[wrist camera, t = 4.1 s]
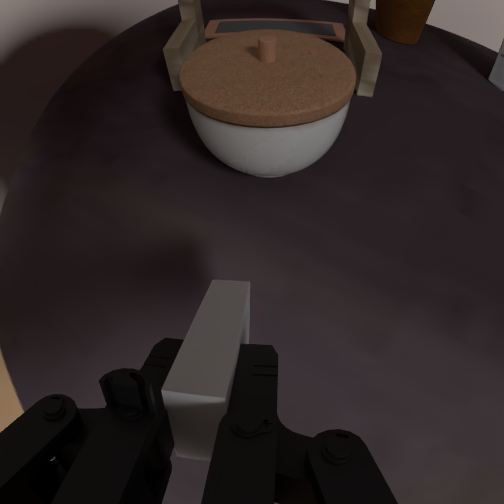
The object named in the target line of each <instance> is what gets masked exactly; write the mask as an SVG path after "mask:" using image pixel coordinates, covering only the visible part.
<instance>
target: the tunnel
mask: <svg viewBox="0 0 504 504" xmlns="http://www.w3.org/2000/svg"><path fill="white" fill-rule="evenodd" d="M178 3H179V8H180V13H181V19H182V21H181V23H180V24H179V26H178V27H177V28H176V30H175V31H174V33H173V34H172V36H171V37H170V39H169V41H168V42H167V44H166V45H165V47H164V48H163V52H164V56H165V60H166V64H167V68H168V72H169V76H170V80H171V84H172V87H173V91H181V87H180V83H179V72H180V68H181V66H182V64H183V63H184V61H185V59H186V58H187V57H188V56H189V55H190V54H191V53H192V52H193V51H195V50H196V49H197V48H199V47H200V46H202V45H204V44H205V43H206V37H205V30H204V24H203V17H202V10H201V3H200V0H178ZM369 6H370V0H349V8H348V16H347V24H346V32H345V39H344V47H343V50H344V53H345V55H346V56H347V57H348V58H349V59H350V61H351V63H352V64H353V66H354V68H355V72H356V84H355V89H356V93H357V95H360V96H368V97H372V95H373V91H374V87H375V83H376V79H377V75H378V71H379V67H380V62H381V58H382V53H381V51H380V49H379V47H378V45H377V43H376V41H375V39H374V37H373V36H372V34H371V32H370V30H369V28H368V26H367V19H368V12H369Z"/></svg>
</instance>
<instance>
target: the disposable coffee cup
mask: <svg viewBox="0 0 504 504" xmlns="http://www.w3.org/2000/svg"><path fill="white" fill-rule="evenodd" d="M434 1H435V0H376V23H375V29H376V31H377V32H378V33H379V34H381V35H382V36H384V37H386V38H388V39H390V40H393V41H396V42H399V43H403V44H416V43H417V42H418V40H419V37H420V35H421V33H422V30H423V28H424V26H425V23H426V21H427V19H428V16H429V14H430V12H431V9H432V7H433V4H434Z"/></svg>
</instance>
